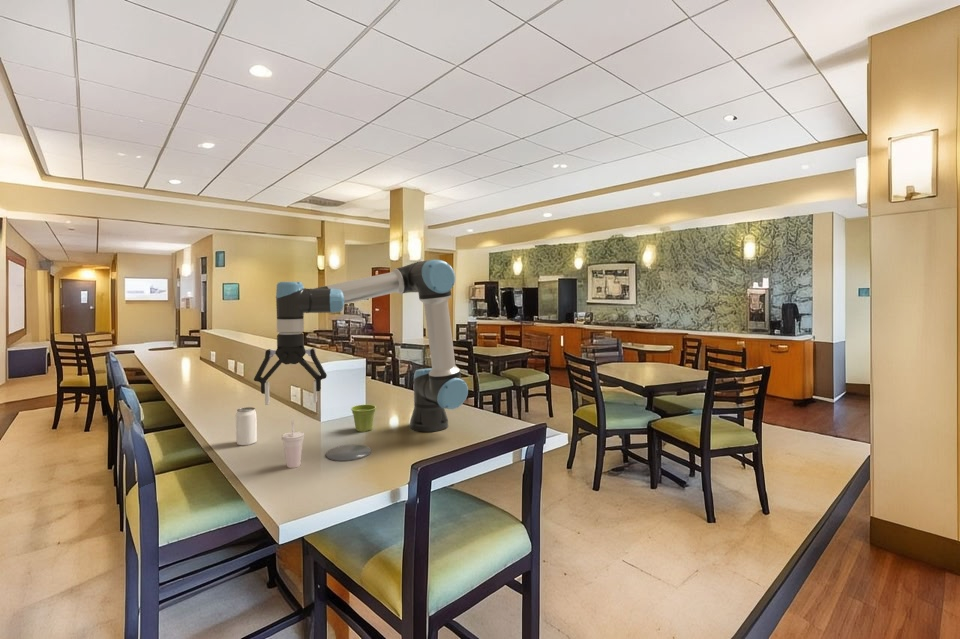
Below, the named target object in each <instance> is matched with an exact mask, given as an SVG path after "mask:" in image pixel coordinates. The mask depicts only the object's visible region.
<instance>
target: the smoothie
mask: <svg viewBox="0 0 960 639" xmlns="http://www.w3.org/2000/svg"><path fill="white" fill-rule="evenodd" d="M294 424H295V421H294V420H292V421H291V432H286V433H283V434H282V435H281V440H282V441H283V447H284V455H285V461H286V467H287V468H289V469H295V468H298V467H300V466H301V462H302V453H303V443H304V442H303V441H304V438H305V433H304V432H302V431H295V425H294Z"/></svg>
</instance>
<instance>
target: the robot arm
mask: <svg viewBox="0 0 960 639" xmlns="http://www.w3.org/2000/svg"><path fill="white" fill-rule="evenodd" d="M455 283H456V273H455V270H454V269H453V267H452V266H451V264H449V263H448V262H446V261H445V260H442V259H429V260H420V261H415V262H412V263H410V264H407V265H405V266H401V267H398V268H393V269H392V270H391V272H386V273H381V274H376V275H371V276H367V277H366V276H365V277H362V278H358V279H352V280H348V281H347V280H346V281H343V282H338V283H332V284H329V285H325V286H319V287H318V286H317V287H314V288H307V287H306V288H305V287H304V283H303V282H301V281H279V282H277V284H276V289H275V290H276V291H275V293H276V295H275V300H276V301H275V302H276V304H275V306H276V332H277V333H278V334H277V335H276V349H275V350H272V349H270V348H268V349H267V350H265V353H264V354H265V355H264V359H263V361H262V362H261V365H260V366H259V369H258V370H257V372H256V373H255V376H254V378H253V381H254V382H258V383H260V392H261V394H262V395H263V394H264V405H265V406H269V405H270V404H271V403H270V402H271V401H270V399H271V398H270V381H268V379H269V378H270V377H271V376H272V375H273V374H274V373H275V371H277V369H278V368H279V367H280V366H281V365H282V364H284V365H290V364H291V365H297V364H300V365H301V366H302V367H303V368H304V369H305V370H306V371H307V372H308V374H309V375H310V376H312V378H314V380H313V383H312V384H313V403H314V404H315V403H316V404H317V402H318V392H320V391H321V389H322V388H321V387H322V386H321V385H322V384H321V381H323V380H324V379H326V378H327V377H328V376H327V373H326V370H325V369H324V367H323V365H322V363H321V361H320V360H319V358H318V357H317V355H316V349H315V348H314V347H312V348H310V349H305V334H304V333H303V332H304V331H305V326H304V324H305V321H304V320H305V319H304V315H305V314H310V313H313V314H317V313H318V314H321V313H322V314H323V313H324V314H326V313H327V314H328V313H329V314H333V313H334V314H335V313H341V312H342V310H343V309H344V307H345V305H347V304H348V305H349V304H351V303H357V302H360V301H364V300H369V299H373V298H378V297H382V296H386V295H390V294H395V293H397V294H399V295H403V294H407V293H418V299H419V301H420V302H422V303H423V306H424V314H425V321H426V322H425V323H426V329H427V338H428V345H429V354H430V361H431V367H429V368H420V369H416V370H415V371H414V373H413V401H414V402H413V405H414V406H413V411H412V414H411V418H410V420H409V428H410V429H412V430H413V431H416V432H423V433H424V432H426V433H429V432H431V433H432V432H439V431H443V430H445V429H448V427H449V418H448V415H447V412H446V410H455V409H458V408H459V407H461V406H462V405H463V404H464V402H465V401H466V400H467V397H468V394H469V387H468V384H467V383H466V382H465V380H464V379H462V374H461V369H460V368H459V367H458V366H457V365H456V361H455V360H456V359H455V358H456V357H455V351H454V342H453V335H452V324H451V318H450V315H451V314H450V308H449V307H450V306H449V300H450V299H451V297H452V288H453V286H454V285H455ZM306 354H307V355H308V356H309V357H310V358H311V360H312V362H313V363H314V365H315V368H316V369H317V371H318V372H317V371H315V369H314V368H313V367H312V366H311V365H310V364H309V363H308V362H307V360H306V359H305V358H304V357H305V355H306ZM274 356H276V357H277V358H278V360H277V361H276V362H275V363H274V365H273V366H272V367H271V368H270V369H269V370H268V371H267V373H266V374H265V375H264V376H263V373H264V371H265V369H266V367H267V366H268V363H269V362H270V360H271V358H273V357H274ZM318 373H319V374H318ZM262 376H263V377H262Z"/></svg>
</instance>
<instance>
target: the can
mask: <svg viewBox="0 0 960 639" xmlns="http://www.w3.org/2000/svg"><path fill="white" fill-rule="evenodd" d="M255 409H256V408H255V407H251V406H249V407H240V408H238V409H236V414H235V432H236V433H235V434H236V444H237V446H251V445H254V444H255V443H257V441H258V429H257V428H258V427H257V426H258V425H257V423H258V422H257V412H256V410H255Z"/></svg>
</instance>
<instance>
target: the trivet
mask: <svg viewBox="0 0 960 639" xmlns="http://www.w3.org/2000/svg"><path fill="white" fill-rule="evenodd" d="M371 451H372V450H371V447H369V446H367V445H363V444H362V445H361V444H346V445H345V444H344V445H339V446H335V447H333V448H331V449H329V450H327V452H326V458H327V459H328V460H331V461H334V462H351V461H357V460H361V459H363V457H364V458H366V457H368V456H369V455H370V454H371Z"/></svg>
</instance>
